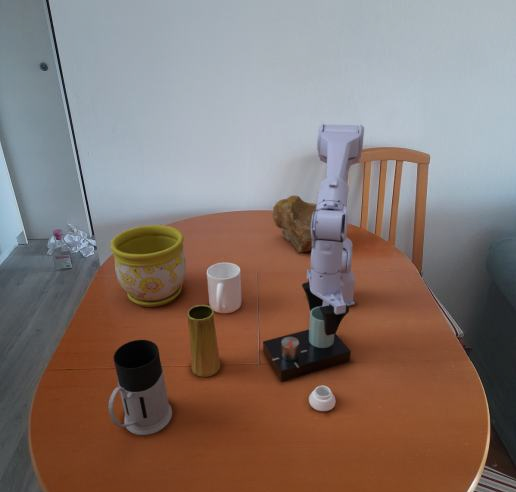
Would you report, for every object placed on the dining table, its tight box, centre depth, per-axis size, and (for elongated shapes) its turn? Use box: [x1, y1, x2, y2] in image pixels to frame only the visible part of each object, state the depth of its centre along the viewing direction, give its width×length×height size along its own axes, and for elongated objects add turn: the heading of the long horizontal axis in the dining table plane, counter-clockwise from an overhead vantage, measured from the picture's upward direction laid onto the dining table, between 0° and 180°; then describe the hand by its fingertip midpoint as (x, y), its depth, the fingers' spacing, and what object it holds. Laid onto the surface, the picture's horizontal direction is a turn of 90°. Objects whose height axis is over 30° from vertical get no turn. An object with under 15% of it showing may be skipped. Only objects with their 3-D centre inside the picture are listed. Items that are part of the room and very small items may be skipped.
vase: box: [187, 304, 221, 378], centre depth 91 cm, size 6×6×14 cm
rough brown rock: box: [272, 195, 344, 254], centre depth 140 cm, size 23×17×15 cm
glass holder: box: [108, 339, 173, 436], centre depth 77 cm, size 9×14×15 cm, turn 167°
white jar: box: [308, 385, 337, 412], centre depth 84 cm, size 5×3×5 cm
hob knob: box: [281, 337, 299, 361], centre depth 92 cm, size 4×4×4 cm
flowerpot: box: [109, 224, 187, 308], centre depth 116 cm, size 18×18×16 cm
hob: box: [262, 329, 352, 382], centre depth 96 cm, size 16×10×3 cm, turn 111°
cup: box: [308, 306, 334, 348], centre depth 95 cm, size 5×5×7 cm
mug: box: [206, 262, 243, 314], centre depth 110 cm, size 12×8×10 cm
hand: (322, 323), depth 95 cm, fingers open, 7 cm apart
